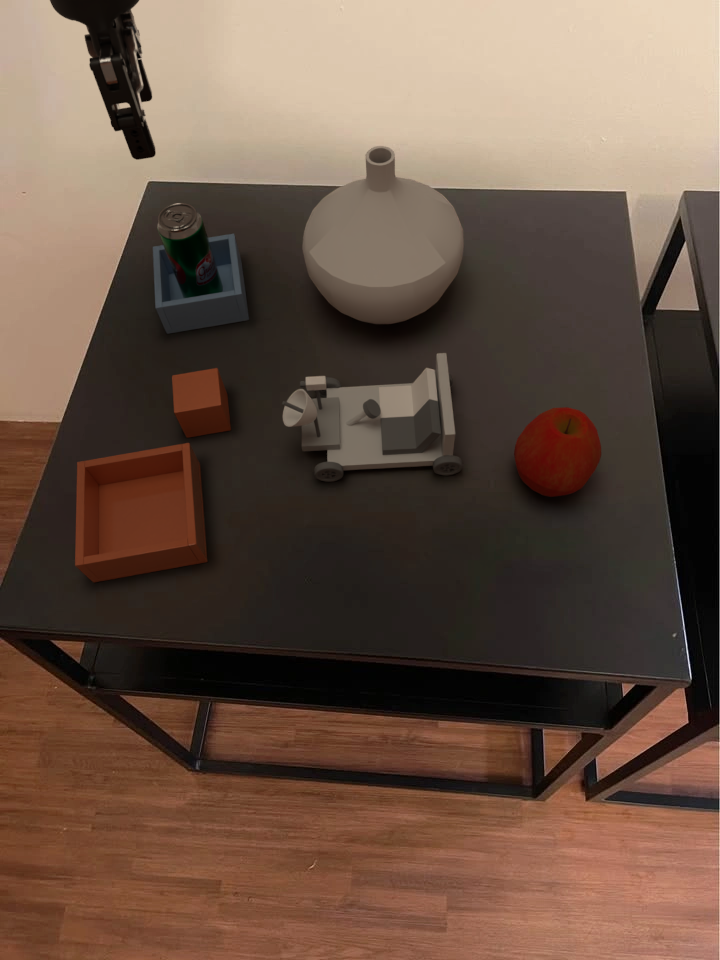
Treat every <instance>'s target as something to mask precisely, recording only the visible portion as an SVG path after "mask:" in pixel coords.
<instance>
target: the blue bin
mask: <svg viewBox="0 0 720 960" xmlns="http://www.w3.org/2000/svg"><path fill="white" fill-rule="evenodd" d="M208 239H209V242H210V246H211V249H212V252H213V256H214V259H215V262H216V265H217V269H218V272H219V275H220V278H221V282H222V285H223V291H222V292H220V293H214V294H208V295H202V296H196V297H190V298H183V295H182V293H181V290H180V287H179V285H178V282H177V280H176V277H175V274H174V272H173V269H172V267H171V264H170V261H169V259H168V256H167V254H166V251H165V248H164V246H163V244H161V245H155V246H152V263H153V282H154V303H155V304H154V305H155V306H154V307H155V310H156V312H157V315H158V317H159V320H160V322H161V324H162V326H163V329H164V331H165V333H166V334H167V335H169V334H174V333H181V332H187V331H193V330H199V329H204V328H210V327H216V326H222V325H228V324H234V323H239V322H246V321H249V320H250V316H249V310H248V302H247V293H246V292H247V291H246V286H245V284H246V283H245V278H244V277H245V276H244V270H243V264H242V263H243V262H242V261H243V260H242V257H241V253H240V250H239V246H238V243H237V239H236V235H235V233H228V234H223V235H216V236H212V237H211V236H210V237H209V236H208Z"/></svg>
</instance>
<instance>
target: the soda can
mask: <svg viewBox="0 0 720 960" xmlns="http://www.w3.org/2000/svg"><path fill="white" fill-rule="evenodd" d="M156 229H157V232H158V235H159V237H160V240H161V243H162V245H163V246H164V248H165V251H166V254H167V256H168V259H169V261H170V264H171V267H172V269H173V272H174V274H175V277H176V280H177V282H178V285H179V287H180V290H181V293H182V295H183V298H190V297H196V296H202V295H208V294H214V293H220V292H222V291H223V285H222V282H221V278H220V275H219V272H218V269H217V265H216V262H215V259H214V256H213V252H212V249H211V246H210V242H209V239H208V238H209V236H208V233H207V230H206V226H205V222H204V220H203V217H202V215H201V214H200V213H199V212H198V211H197V210H196V209H195V207H194V206H192V205H191V204H189V203H185V202H176V203H172V204H169V205H167V206H165V207H164V208H163V209H162V210H161V211H160V212H159V214H158V216H157V227H156Z"/></svg>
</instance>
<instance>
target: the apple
mask: <svg viewBox="0 0 720 960" xmlns="http://www.w3.org/2000/svg"><path fill="white" fill-rule="evenodd" d="M513 452H514V453H513V456H514V457H513V458H514V461H515V467H516V471H517V473H518V476H519V478H520V479H521V481H522V483H524V484H525V485H526V486H527V487H529V489H530V490H532V491H534V492H536V493H538V495H539V494H540V495H541V496H544V497H550V498H552V497H553V498H554V497H561V496H567V495H572V494H574V493H576V492H577V491H579V490H580V491H581V490H582V489H583V488H584V486H585V485H586V484H587V482H588V481H589V479H590V478H591V477H592V476H593V474H594V473H595V471H596V470H597V467H598V465H599V463H600V461H601V457H602V444H601V439H600V436H599V432H598V429H597V427H596V426H595V423H594V422H593V421H592V420H591V418H589V416H587V414H586V413H585V412H583V411H581V410H580V409H577V408H572V407H568V406H565V407H564V406H563V407H552V408H550V409H547V410H545V411H543V412H541V413H539V414H538V415H537V416H536V417H535V418H533V419H532V420H531V421H530V422H529V423H528V424H527V425H526V426H525V427H524V429H523V430H522V432H521V433H520V435H518V437H517V439H516V442H515V445H514V451H513Z"/></svg>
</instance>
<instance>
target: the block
mask: <svg viewBox="0 0 720 960" xmlns="http://www.w3.org/2000/svg"><path fill="white" fill-rule="evenodd" d="M171 382H172V399H173V414H174V415H175V418H176V419H177V421H178V423H179V426H180V427H181V430H182V432H183V434H184V436H185V438H186V439H188V438H194V437H200V436H206V435H211V434H217V433H223V432H228V431H232V426H231V416H230V415H231V414H230V405H229V397H228V396H229V395H228V393H227V390H226V387H225V384H224V381H223V378H222V376H221V372H220V371H219V368H218V367H214V368H209V369H203V370H197V371H190V372H185V373H178V374H173V375H172V376H171Z"/></svg>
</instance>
